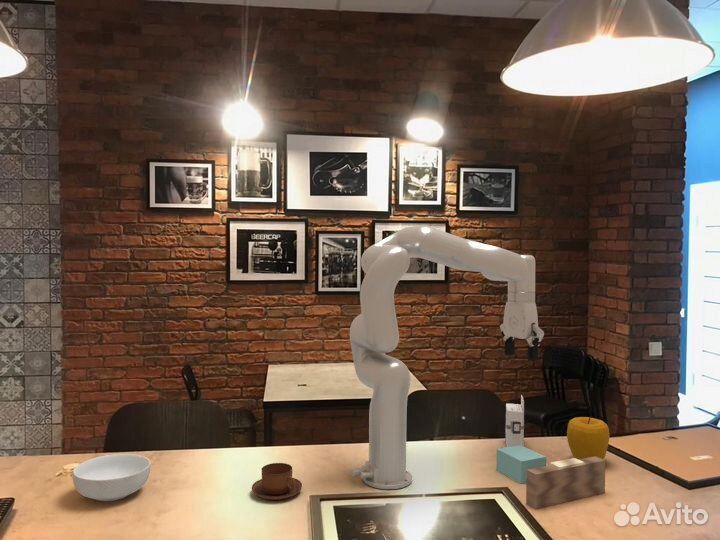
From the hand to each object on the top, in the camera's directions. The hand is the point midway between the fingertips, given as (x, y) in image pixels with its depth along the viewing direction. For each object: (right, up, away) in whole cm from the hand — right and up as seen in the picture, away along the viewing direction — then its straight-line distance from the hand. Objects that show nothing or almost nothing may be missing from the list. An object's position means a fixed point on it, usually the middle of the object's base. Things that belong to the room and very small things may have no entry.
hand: (520, 357), depth 162 cm
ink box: (+1, -29, +10) cm, 30 cm away
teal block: (-4, -29, -13) cm, 32 cm away
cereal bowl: (-105, -29, -28) cm, 113 cm away
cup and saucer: (-66, -29, -26) cm, 77 cm away
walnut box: (+3, -29, -28) cm, 40 cm away
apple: (+17, -29, -4) cm, 34 cm away
